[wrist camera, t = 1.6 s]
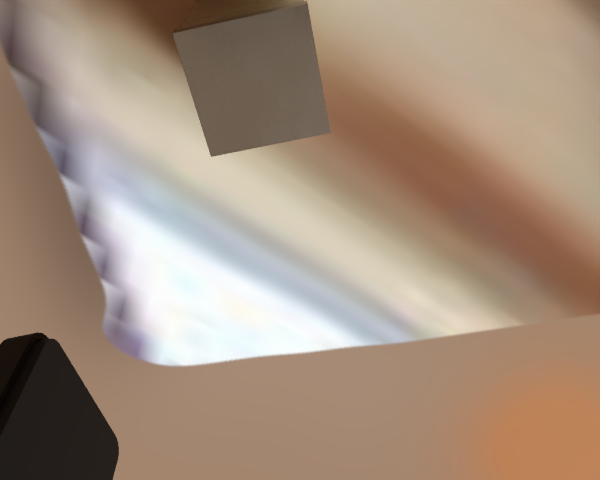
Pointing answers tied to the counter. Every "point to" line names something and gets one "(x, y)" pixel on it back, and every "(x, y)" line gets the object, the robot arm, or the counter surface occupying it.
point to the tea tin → (252, 72)
